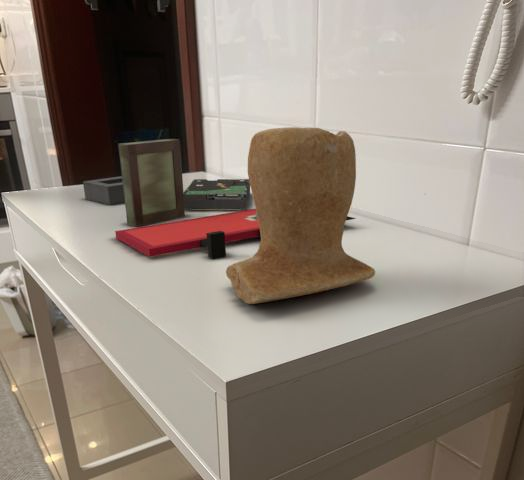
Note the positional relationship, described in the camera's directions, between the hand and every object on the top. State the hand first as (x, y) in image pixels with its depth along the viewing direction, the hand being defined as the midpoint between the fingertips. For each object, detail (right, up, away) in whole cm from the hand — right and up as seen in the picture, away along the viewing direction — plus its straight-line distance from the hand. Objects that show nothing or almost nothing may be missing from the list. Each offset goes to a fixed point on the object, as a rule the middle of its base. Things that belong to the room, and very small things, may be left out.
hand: (128, 10), depth 72 cm
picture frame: (+2, -25, +11) cm, 27 cm away
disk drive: (+10, -19, +23) cm, 31 cm away
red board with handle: (+15, -29, +3) cm, 32 cm away
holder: (-6, -16, +28) cm, 33 cm away
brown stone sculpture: (+20, -38, -16) cm, 46 cm away
